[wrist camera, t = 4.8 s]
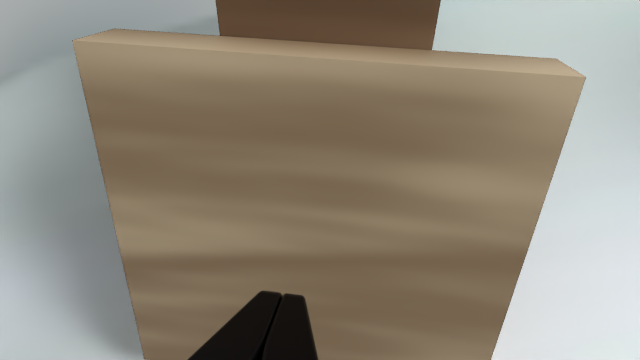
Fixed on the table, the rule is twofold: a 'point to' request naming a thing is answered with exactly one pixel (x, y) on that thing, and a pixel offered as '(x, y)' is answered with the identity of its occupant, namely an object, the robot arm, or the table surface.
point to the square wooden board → (323, 185)
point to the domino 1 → (333, 21)
